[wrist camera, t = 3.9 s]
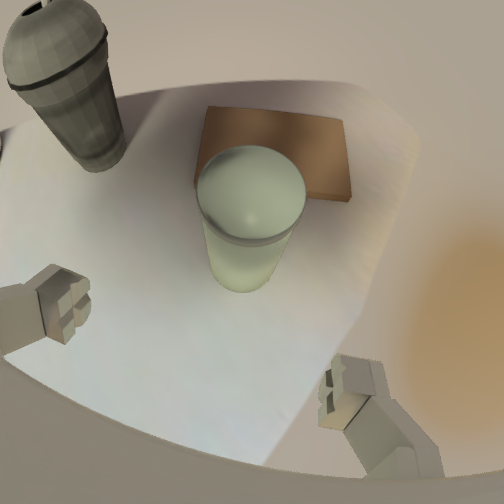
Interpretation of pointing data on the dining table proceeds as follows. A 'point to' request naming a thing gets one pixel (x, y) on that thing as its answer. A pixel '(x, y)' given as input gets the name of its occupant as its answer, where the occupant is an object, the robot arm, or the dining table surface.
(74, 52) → the beverage cup
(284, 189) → the sage tube
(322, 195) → the walnut board
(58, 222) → the dining table surface
